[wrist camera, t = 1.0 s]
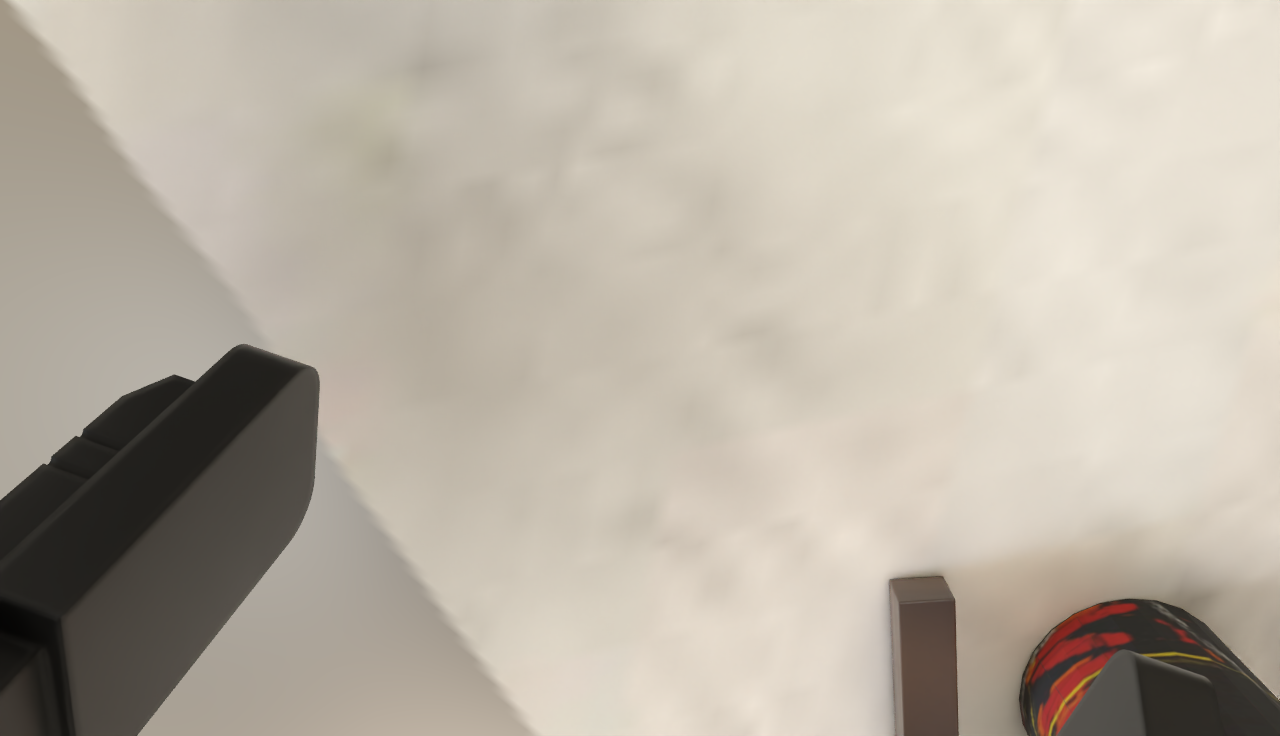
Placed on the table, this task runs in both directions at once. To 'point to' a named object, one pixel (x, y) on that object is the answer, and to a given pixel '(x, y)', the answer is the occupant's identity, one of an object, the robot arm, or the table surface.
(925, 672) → the brown angled rods
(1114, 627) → the deodorant
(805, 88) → the table surface
